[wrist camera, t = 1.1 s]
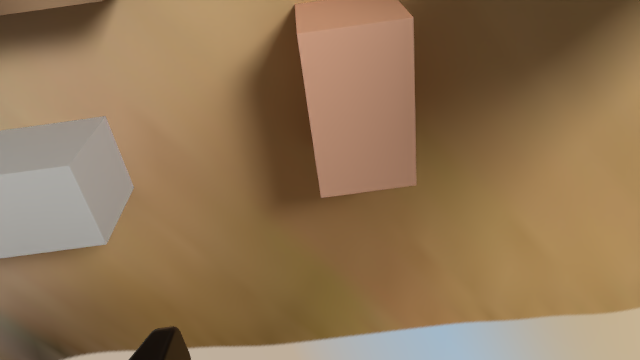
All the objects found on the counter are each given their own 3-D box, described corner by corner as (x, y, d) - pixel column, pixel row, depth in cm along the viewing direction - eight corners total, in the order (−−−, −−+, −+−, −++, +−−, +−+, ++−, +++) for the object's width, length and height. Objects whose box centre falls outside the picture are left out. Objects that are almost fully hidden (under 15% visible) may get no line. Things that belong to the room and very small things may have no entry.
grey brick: (106, 115, 20) (69, 165, 16) (134, 186, 22) (106, 244, 18) (-39, 134, 20) (-105, 188, 16) (2, 203, 22) (-50, 265, 18)
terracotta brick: (294, 3, 18) (296, 33, 14) (389, -10, 18) (413, 17, 14) (315, 145, 21) (321, 198, 18) (395, 134, 21) (416, 185, 18)
